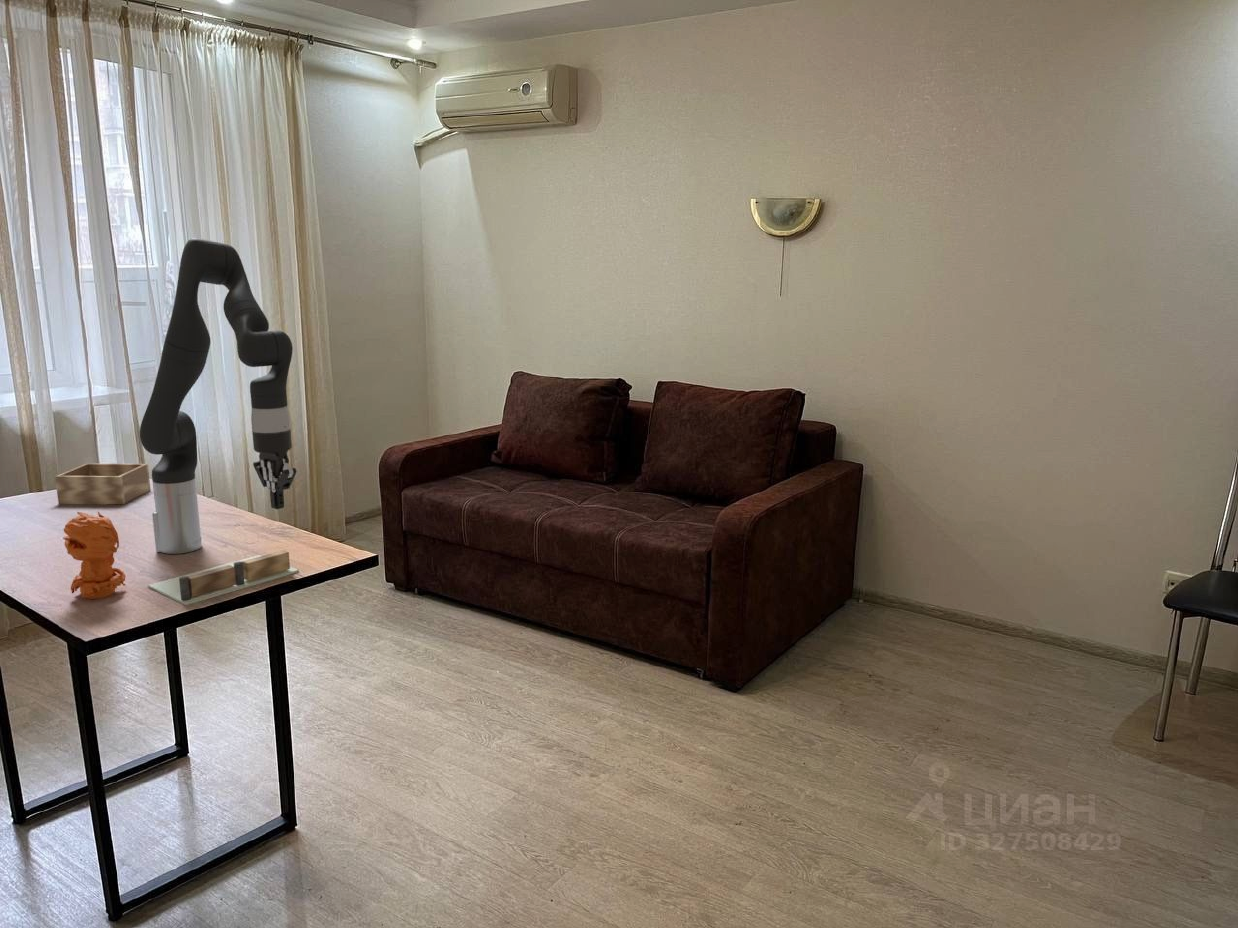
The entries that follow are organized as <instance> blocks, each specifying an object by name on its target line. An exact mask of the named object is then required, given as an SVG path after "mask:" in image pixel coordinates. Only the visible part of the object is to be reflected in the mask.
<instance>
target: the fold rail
mask: <svg viewBox="0 0 1238 928" xmlns="http://www.w3.org/2000/svg"><path fill="white" fill-rule="evenodd" d="M242 562H243V571H244V579H245V580H248V581H250V580H254V579H257V578H261V577H264V576H268V575H271V574H274V573H278V572H281V571H285V570H288V569H290V567H291V565H290V552H289V551H287V550H284V549H283V550H279V551H276V552H273V553H269V554H264V555H261V556H260V557H257V558H253V559H249V560H246V561H242Z"/></svg>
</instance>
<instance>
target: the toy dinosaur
mask: <svg viewBox="0 0 1238 928" xmlns="http://www.w3.org/2000/svg"><path fill="white" fill-rule="evenodd" d="M76 513H77V515H79V516H76V517H73V518H71V520H69V521H67V523H66V524H65V525H64V528H63V532H64V534H66V536H63V537H62V539H63V540H64V547H65V549H66V551H67V552H66V553H67V554H68V555H71V557H72V559H73V560H75V561H81V565H80V572H79V574H78V575H75V577H74V578H73V580H72V583H71V585H70V590H71V594H74V593H75V592H77V591H78V589H79V593H80V595H81V597H82V598H85V599H91V600H92V599H93V600H94V599H101V598H106V597H109V596H112V595H114V594H115V592H116V589H118V587H120V586H123V587H124V586H126V584H125V583H124V581H125V582H126V575H125V573H124V571H123V570H122V569H120V568H116V567H113V565H114V564H115V557H114V554H115V553H118V548H119V547H120V540H119V535H118V534H119V533H118V531H117V530H116V528H115V526H114V524H113V521H112V520H111V519H110V518H109V517H106V516H104V515H101V513H100V512H99V511H97V515H98V516H95V515H91V514H88V513H85V512H81V511H77V512H76Z"/></svg>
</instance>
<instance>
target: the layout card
mask: <svg viewBox="0 0 1238 928" xmlns="http://www.w3.org/2000/svg"><path fill="white" fill-rule="evenodd" d="M260 556H262V554H261V555H260V554H257V555H254V556H251V557H247V558H243V559H240V560H235V561H231V562H227V563H225V564H221V565H217V566H213V567H211V568H210V567H208V568H206V569H203V570H199V571H195V572H191V573H187V574H183V575H181V576H176V577H172V578H169V579H166V580H163V581H158V582H153V583H150V584H147V587H148V589H151V590H153V591H155V592H157V593H160V595H164V596H166V597H167V598H170V599H172V600H174V601H176V602H178V603H180V604H182V605H185V606H188V605H189V606H190V605H191V604H195V603H199V602H201V601H205V600H209V599H211V598H216V597H219V596H222V595H226V594H228V593H229V594H230V593H232V592H235V591H240V590H242V589H246V588H250V587H253V586H255V585H259V584H263V583H265V582H270V581H273V580H277V579H280V578H283V577H286V576H290V575H293V574H296V573H299V572H300V571H299V569H298V568H295V567H292V566H290V569H288V570H285V571H281V572H278V573H274V574H271V575H268V576H264V577H261V578H257V579H254V580H250V581H248V580H245V579H244V584H242V585H233V586H230V587H226V588H223V589H219V590H216V591H213V592H209V593H206V594H202V595H199V596H195V597H191V599H190V600H187V601H182V600H181V592H180V582H179V578H180V577H182V576H191V575H194V574H198V573H202V572H205V571H209V570H213V569H216V568H220V567H224V566H227V565H231V566H233V567H234V563H235V562H239V561H241V562H242V561H246V560H249V559H253V558H257V557H260Z"/></svg>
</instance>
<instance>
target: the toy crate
mask: <svg viewBox="0 0 1238 928" xmlns="http://www.w3.org/2000/svg"><path fill="white" fill-rule="evenodd" d="M54 479H55V487H56V494H57V502H58V505H106V504H124V505H126V504H127V503H129V502H131V501H133V500H134V499H137V498H138V496H139V497H140V496H142V495H144V494H146V493H148V492H150V491H152V490H151V481H150V472H149V464H148V463H90V462H89V463H84V464H81V465H80V466H77V467H74V468H71V469H69V470H68V471H64V472H63V473H61V474H58V475H55V476H54ZM126 502H127V503H126Z"/></svg>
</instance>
